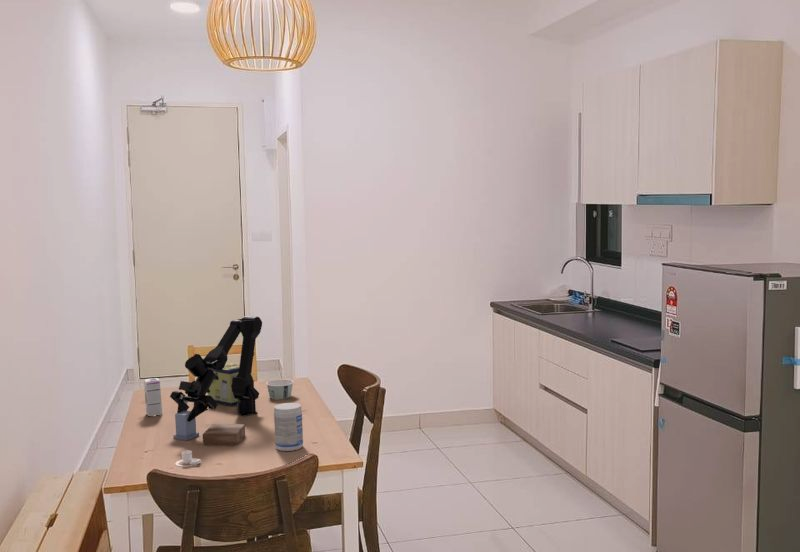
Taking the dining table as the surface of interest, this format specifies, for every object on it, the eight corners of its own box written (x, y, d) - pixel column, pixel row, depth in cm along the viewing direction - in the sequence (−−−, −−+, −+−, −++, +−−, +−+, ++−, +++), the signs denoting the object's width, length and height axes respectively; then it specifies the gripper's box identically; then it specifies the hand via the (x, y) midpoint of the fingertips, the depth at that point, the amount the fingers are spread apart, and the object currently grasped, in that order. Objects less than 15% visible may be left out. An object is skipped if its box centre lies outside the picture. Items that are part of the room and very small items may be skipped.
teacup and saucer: (204, 465, 246) (204, 453, 245) (180, 470, 241) (179, 458, 241) (196, 458, 253) (195, 446, 253) (172, 463, 249) (171, 450, 248)
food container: (299, 396, 331) (299, 381, 330) (278, 402, 322) (277, 387, 321) (282, 392, 339) (281, 377, 338) (260, 397, 330) (260, 383, 329)
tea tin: (186, 433, 279) (185, 409, 279) (199, 435, 276) (198, 411, 276) (173, 438, 274) (172, 414, 273) (186, 440, 271) (185, 416, 270)
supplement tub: (304, 450, 257) (303, 408, 256) (276, 453, 255) (274, 410, 253) (301, 442, 266) (300, 401, 265) (274, 444, 264) (272, 403, 263)
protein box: (225, 396, 333) (224, 361, 332) (250, 401, 324) (248, 365, 323) (207, 401, 325) (205, 366, 323) (231, 406, 316) (230, 370, 314)
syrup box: (162, 415, 305) (160, 380, 303) (147, 417, 302) (145, 381, 301) (160, 411, 310) (158, 377, 309) (145, 413, 307) (143, 378, 306)
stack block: (212, 435, 277) (212, 424, 276) (245, 434, 276) (244, 424, 276) (203, 445, 265) (202, 434, 265) (236, 445, 264) (236, 434, 264)
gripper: (172, 369, 281) (151, 406, 272) (210, 374, 272) (189, 411, 263) (188, 385, 288) (168, 421, 280) (226, 390, 280) (206, 427, 271)
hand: (182, 420), depth 273 cm, fingers closed on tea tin, 5 cm apart
